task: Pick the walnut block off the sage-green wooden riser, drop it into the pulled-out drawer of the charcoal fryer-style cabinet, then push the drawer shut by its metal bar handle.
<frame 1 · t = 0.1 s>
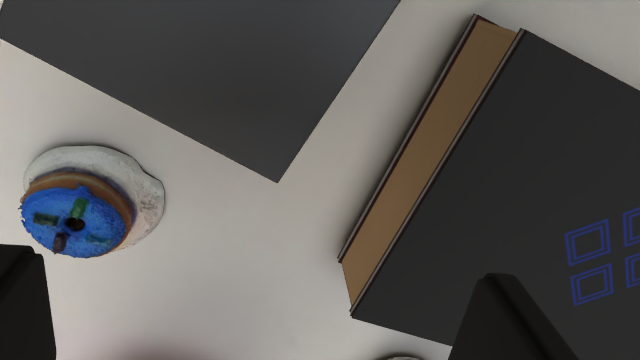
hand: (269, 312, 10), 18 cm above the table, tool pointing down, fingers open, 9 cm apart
book: (545, 205, 32), on the table
dessert: (98, 196, 29), on the table
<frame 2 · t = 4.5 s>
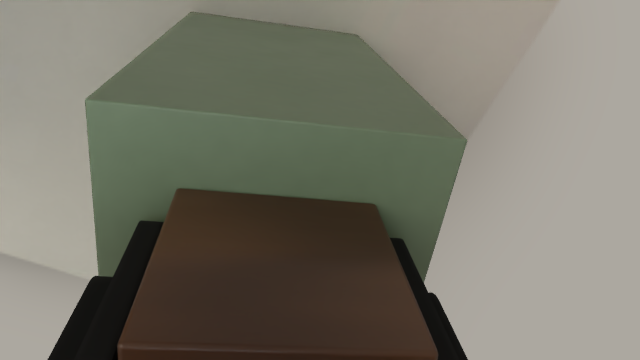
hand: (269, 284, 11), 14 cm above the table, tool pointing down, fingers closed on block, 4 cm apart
block: (269, 274, 11), point 14 cm above the table, touching gripper, riser
riser: (268, 103, 24), on the table
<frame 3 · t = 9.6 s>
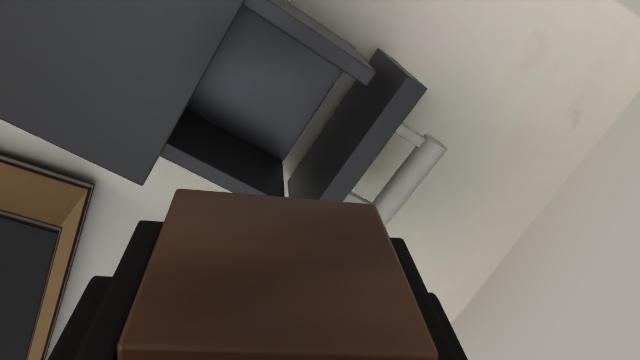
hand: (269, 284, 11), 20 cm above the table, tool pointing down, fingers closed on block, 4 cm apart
block: (269, 275, 11), point 20 cm above the table, touching gripper
drawer: (293, 112, 25), point 4 cm above the table, slide at 8.0 cm
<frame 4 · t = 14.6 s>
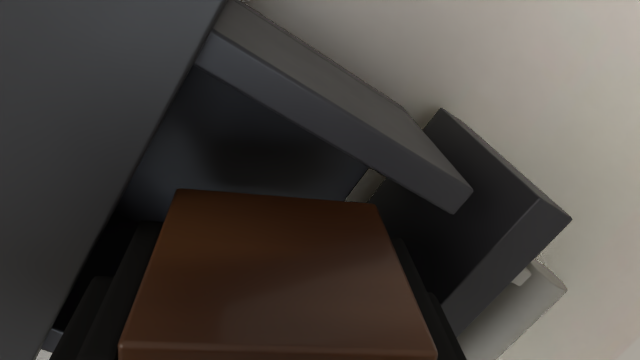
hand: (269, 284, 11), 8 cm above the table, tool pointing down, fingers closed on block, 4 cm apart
block: (269, 274, 11), point 7 cm above the table, touching gripper
drawer: (302, 230, 14), point 4 cm above the table, slide at 8.0 cm
when the fingers open (10 cm above the table, at t = 23.9 s): block drops 8 cm, resting on drawer.
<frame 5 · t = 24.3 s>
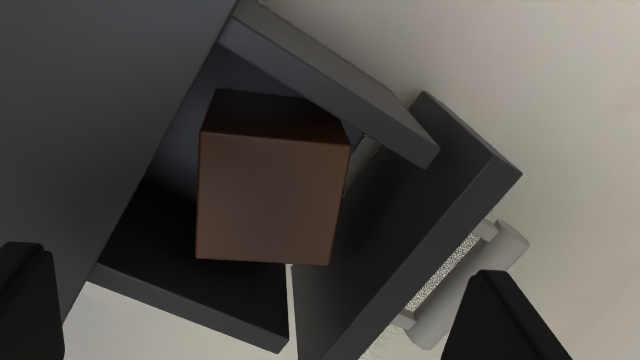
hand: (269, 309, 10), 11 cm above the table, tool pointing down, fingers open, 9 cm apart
block: (269, 149, 18), point 2 cm above the table, touching drawer
drawer: (301, 192, 17), point 4 cm above the table, slide at 8.0 cm, touching block
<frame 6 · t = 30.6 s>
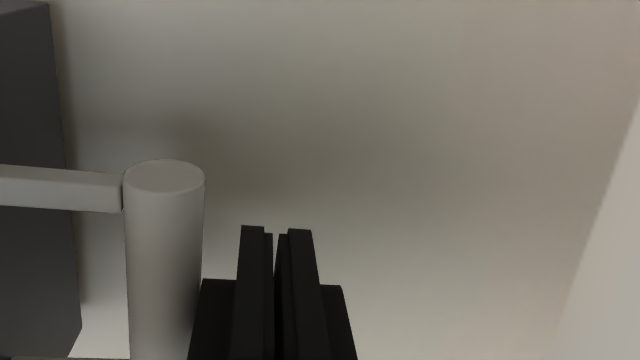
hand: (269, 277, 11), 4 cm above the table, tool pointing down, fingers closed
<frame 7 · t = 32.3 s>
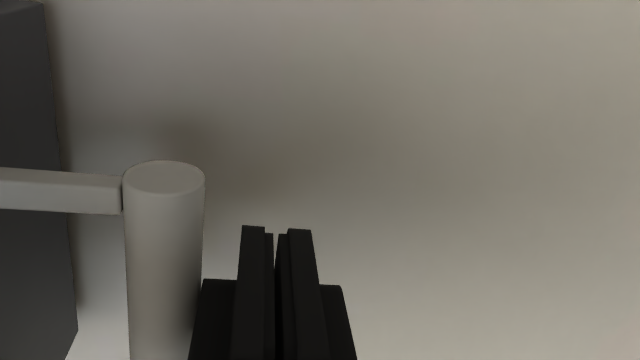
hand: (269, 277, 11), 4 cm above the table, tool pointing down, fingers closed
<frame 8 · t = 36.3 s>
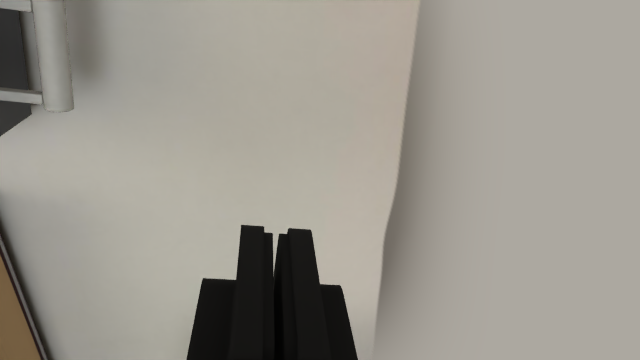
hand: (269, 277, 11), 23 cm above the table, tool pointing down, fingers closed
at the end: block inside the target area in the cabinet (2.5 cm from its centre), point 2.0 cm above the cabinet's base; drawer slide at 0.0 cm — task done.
